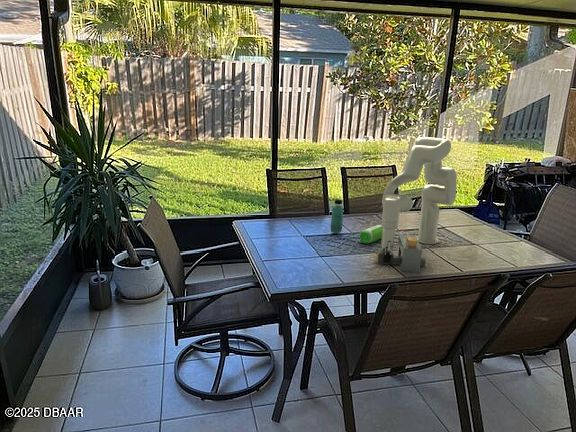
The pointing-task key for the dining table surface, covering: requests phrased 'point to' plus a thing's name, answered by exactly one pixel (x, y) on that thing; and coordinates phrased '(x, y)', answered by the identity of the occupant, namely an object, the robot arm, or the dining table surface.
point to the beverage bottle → (337, 217)
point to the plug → (392, 258)
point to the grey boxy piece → (409, 253)
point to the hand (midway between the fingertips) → (386, 259)
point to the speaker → (371, 234)
